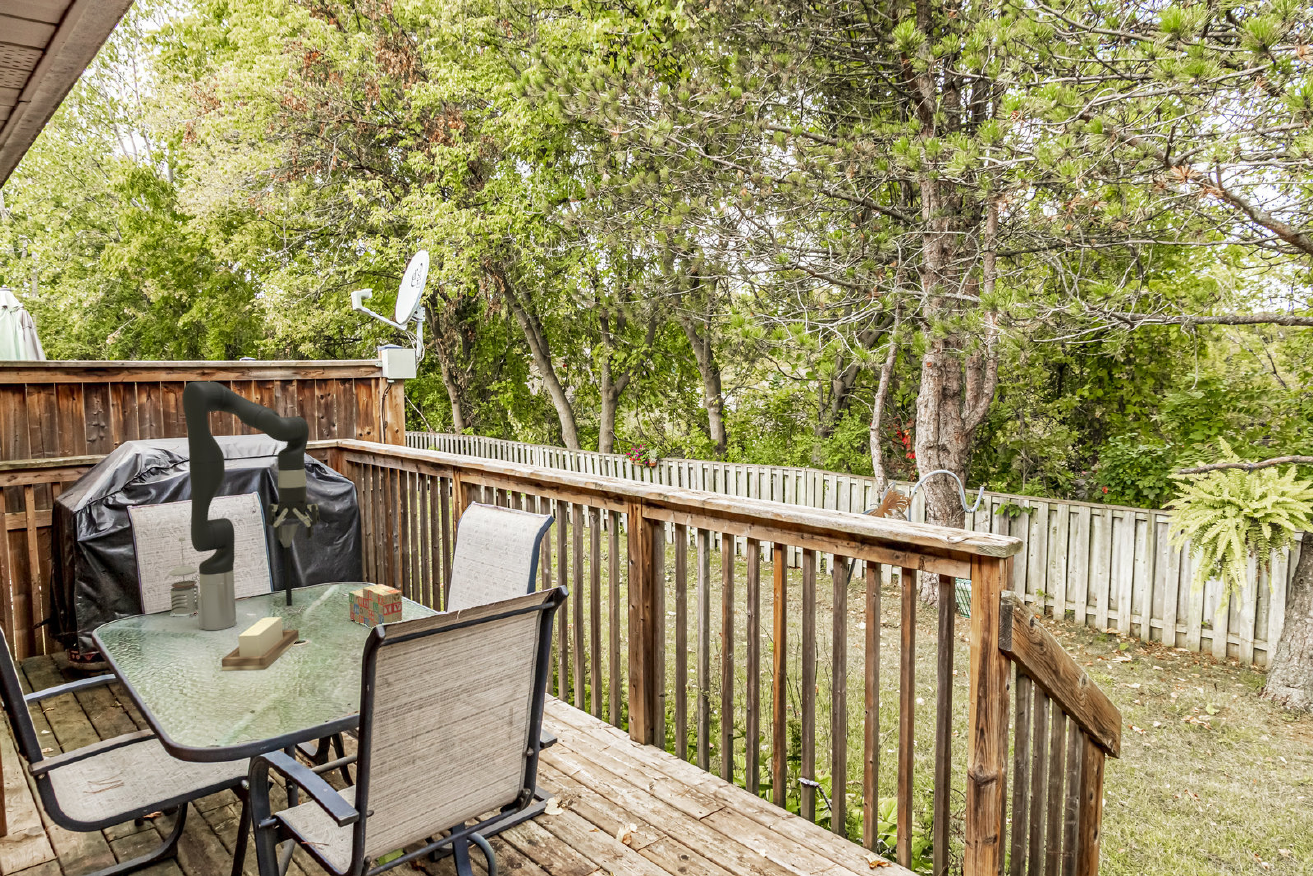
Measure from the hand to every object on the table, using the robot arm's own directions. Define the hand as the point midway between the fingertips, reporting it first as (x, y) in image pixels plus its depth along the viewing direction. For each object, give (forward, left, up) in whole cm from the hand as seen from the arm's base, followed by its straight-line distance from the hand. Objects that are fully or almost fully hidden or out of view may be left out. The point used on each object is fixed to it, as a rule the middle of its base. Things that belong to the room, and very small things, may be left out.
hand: (294, 539), depth 232 cm
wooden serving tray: (-3, -17, -29) cm, 33 cm away
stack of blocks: (+21, +7, -29) cm, 36 cm away
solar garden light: (-14, +31, -29) cm, 45 cm away
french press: (-44, +26, -29) cm, 59 cm away
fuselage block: (-4, -17, -28) cm, 33 cm away
